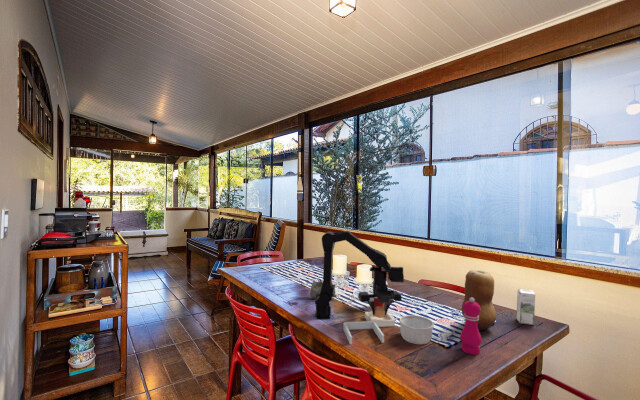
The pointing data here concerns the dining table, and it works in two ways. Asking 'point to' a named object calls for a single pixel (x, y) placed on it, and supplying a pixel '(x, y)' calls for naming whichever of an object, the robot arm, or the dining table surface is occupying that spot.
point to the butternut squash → (481, 296)
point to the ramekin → (416, 329)
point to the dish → (380, 319)
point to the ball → (379, 311)
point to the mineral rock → (316, 290)
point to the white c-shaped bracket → (362, 325)
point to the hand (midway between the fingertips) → (379, 315)
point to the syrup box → (525, 306)
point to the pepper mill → (471, 328)
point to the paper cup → (378, 300)
